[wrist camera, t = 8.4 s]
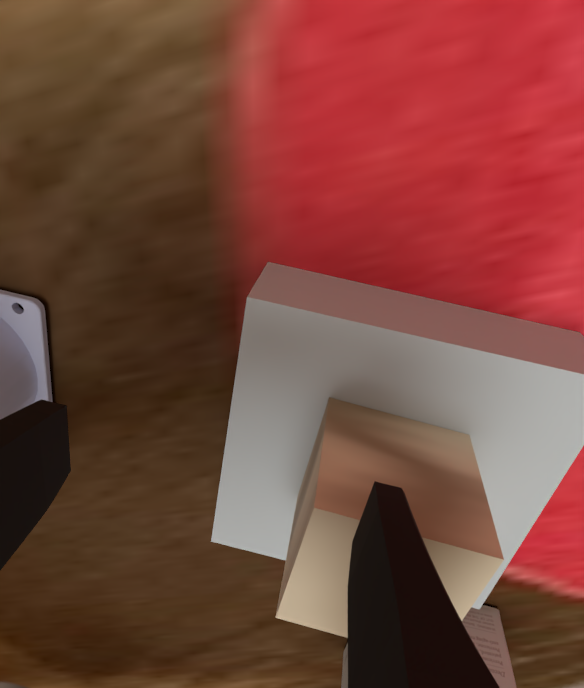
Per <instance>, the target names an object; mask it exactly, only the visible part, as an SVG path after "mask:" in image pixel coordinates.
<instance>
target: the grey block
mask: <svg viewBox="0 0 584 688" xmlns="http://www.w3.org/2000/svg"><path fill="white" fill-rule="evenodd" d="M329 397H330V398H334V399H337V400H341V401H345V402H349V403H352V404H356V405H360V406H363V407H367V408H371V409H375V410H378V411H382V412H386V413H389V414H393V415H397V416H401V417H404V418H408V419H412V420H416V421H419V422H423V423H427V424H430V425H434V426H438V427H442V428H445V429H449V430H453V431H456V432H460V433H464V434H468V435H470V439H471V442H472V446H473V450H474V453H475V457H476V460H477V464H478V468H479V471H480V475H481V478H482V482H483V486H484V489H485V493H486V496H487V500H488V504H489V507H490V511H491V514H492V518H493V522H494V525H495V529H496V532H497V536H498V540H499V543H500V547H501V550H502V554H503V558H504V561H503V562H502V564H501V565H500V566H499V568H498V569H497V571H496V572H495V574H494V575H493V577H492V578H491V579H490V581H489V582H488V584H487V585H486V587H485V588H484V590H483V591H482V592H481V594H480V595H479V597H478V598H477V600H476V601H475V603H474V604H473V606H472V608H476V609H480V608H481V606H482V605H483V603H484V602H485V600H486V598H487V597H488V595H489V594H490V592H491V591H492V589H493V587H494V586H495V584H496V583H497V581H498V580H499V578H500V576H501V575H502V573H503V572H504V570H505V568H506V567H507V565H508V564H509V562H510V561H511V559H512V557H513V556H514V554H515V553H516V551H517V550H518V548H519V546H520V545H521V543H522V542H523V540H524V539H525V537H526V535H527V534H528V532H529V531H530V529H531V527H532V526H533V524H534V523H535V521H536V520H537V518H538V516H539V515H540V513H541V512H542V510H543V509H544V507H545V505H546V504H547V502H548V501H549V499H550V498H551V496H552V494H553V493H554V491H555V490H556V488H557V486H558V485H559V483H560V482H561V480H562V479H563V477H564V475H565V474H566V472H567V471H568V469H569V468H570V466H571V464H572V463H573V461H574V460H575V458H576V457H577V455H578V453H579V452H580V450H581V449H582V447H583V445H584V336H583V335H582V334H581V333H580V332H576V331H572V330H567V329H563V328H558V327H554V326H550V325H545V324H541V323H536V322H532V321H528V320H523V319H519V318H514V317H510V316H506V315H501V314H497V313H492V312H488V311H483V310H479V309H475V308H470V307H466V306H461V305H457V304H453V303H448V302H444V301H439V300H435V299H431V298H426V297H422V296H417V295H413V294H409V293H404V292H400V291H395V290H391V289H386V288H382V287H378V286H373V285H369V284H364V283H360V282H356V281H351V280H347V279H342V278H338V277H334V276H329V275H325V274H320V273H316V272H312V271H307V270H303V269H298V268H294V267H289V266H285V265H281V264H276V263H272V262H268V263H267V264H266V266H265V268H264V269H263V271H262V273H261V274H260V276H259V278H258V279H257V281H256V283H255V284H254V286H253V288H252V289H251V291H250V293H249V294H248V296H247V300H246V307H245V314H244V321H243V328H242V335H241V341H240V348H239V355H238V362H237V369H236V375H235V382H234V389H233V396H232V403H231V409H230V416H229V423H228V430H227V437H226V443H225V450H224V457H223V464H222V471H221V477H220V484H219V491H218V498H217V505H216V512H215V518H214V525H213V532H212V539H211V542H215V543H219V544H223V545H227V546H231V547H235V548H239V549H243V550H247V551H251V552H255V553H259V554H263V555H267V556H271V557H275V558H278V559H282V560H286V557H287V552H288V546H289V541H290V535H291V530H292V524H293V519H294V513H295V508H296V502H297V497H298V493H299V490H300V487H301V484H302V481H303V478H304V475H305V471H306V468H307V465H308V462H309V459H310V456H311V453H312V450H313V446H314V443H315V440H316V437H317V434H318V431H319V428H320V424H321V421H322V418H323V415H324V412H325V409H326V406H327V403H328V399H329Z"/></svg>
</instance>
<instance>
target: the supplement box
mask: <svg viewBox="0 0 584 688" xmlns="http://www.w3.org/2000/svg"><path fill="white" fill-rule="evenodd" d="M462 623H463V625H464V627H465V629H466V630H467V632H468V634H469V636H470V638H471V639H472V641H473V643H474V645H475V647H476V648H477V650H478V652H479V654H480V655H481V657H482V659H483V661H484V662H485V664H486V665H487V667H488V669H489V670H490V672H491V674H492V675H493V677H494V679H495V680H496V682H497V684H498V685H499V687H500V688H516V683H515V678H514V674H513V670H512V666H511V661H510V656H509V652H508V648H507V644H506V640H505V636H504V631H503V627H502V623H501V618H500V613H499V610H498V609H497V608H493V607H489V606H486V605H482V606H481V608H480V609H476V608H472V607H471V608H470V610H469V611H468V613H467V614H466V616H465V617H464V619H463V620H462ZM341 688H348V643H347V645H346V647H345V650H344V653H343V670H342V685H341Z"/></svg>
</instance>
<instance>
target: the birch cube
mask: <svg viewBox="0 0 584 688" xmlns="http://www.w3.org/2000/svg"><path fill="white" fill-rule="evenodd" d="M374 481H376V482H380V483H384V484H388V485H392V486H396V487H400V488H402V489H403V491H404V493H405V495H406V498H407V501H408V503H409V506H410V509H411V511H412V514H413V517H414V519H415V522H416V524H417V527H418V529H419V532H420V534H421V536H422V539H423V541H424V544H425V546H426V548H427V550H428V553H429V555H430V557H431V560H432V562H433V564H434V566H435V568H436V570H437V572H438V575H439V577H440V579H441V581H442V583H443V585H444V588H445V590H446V592H447V594H448V596H449V598H450V600H451V602H452V604H453V606H454V608H455V609H456V611H457V613H458V615H459V617H460V619H461V621H462V620H463V619H464V617H465V616H466V614H467V613H468V611H469V610H470V608H471V607H472V606H473V604H474V603H475V601H476V600H477V598H478V597H479V595H480V594H481V592H482V591H483V590H484V588H485V587H486V585H487V584H488V582H489V581H490V579H491V578H492V577H493V575H494V574H495V572H496V571H497V569H498V568H499V566H500V565H501V564H502V562H503V561H504V558H503V554H502V550H501V547H500V543H499V540H498V536H497V532H496V529H495V525H494V522H493V518H492V514H491V511H490V507H489V504H488V500H487V496H486V493H485V489H484V486H483V482H482V478H481V475H480V471H479V468H478V464H477V460H476V457H475V453H474V450H473V446H472V442H471V439H470V435H468V434H464V433H460V432H456V431H453V430H449V429H445V428H442V427H438V426H434V425H430V424H427V423H423V422H419V421H416V420H412V419H408V418H404V417H401V416H397V415H393V414H389V413H386V412H382V411H378V410H375V409H371V408H367V407H363V406H360V405H356V404H352V403H349V402H345V401H341V400H337V399H334V398H330V397H329V399H328V403H327V406H326V409H325V412H324V415H323V418H322V421H321V424H320V428H319V431H318V434H317V437H316V440H315V443H314V446H313V450H312V453H311V456H310V459H309V462H308V465H307V468H306V471H305V475H304V478H303V481H302V484H301V487H300V490H299V493H298V497H297V502H296V508H295V513H294V519H293V524H292V530H291V535H290V541H289V546H288V552H287V557H286V563H285V568H284V574H283V579H282V585H281V590H280V596H279V601H278V607H277V612H276V618H279V619H282V620H286V621H289V622H293V623H297V624H300V625H304V626H307V627H311V628H314V629H318V630H322V631H325V632H329V633H332V634H336V635H339V636H343V637H347V638H348V578H349V567H350V558H351V549H352V541H353V538H354V535H355V533H356V530H357V527H358V525H359V522H360V519H361V517H362V514H363V511H364V508H365V506H366V503H367V500H368V498H369V495H370V492H371V490H372V487H373V484H374Z"/></svg>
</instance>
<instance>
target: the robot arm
mask: <svg viewBox="0 0 584 688" xmlns="http://www.w3.org/2000/svg"><path fill="white" fill-rule="evenodd" d="M18 303H19V304H20V305H21V306H22V307H23V309H24V310H23V309H21V308H20V307H19V305H18ZM70 471H71V468H70V452H69V437H68V421H67V406H66V405H62V404H58V403H54V402H53V401H52V388H51V376H50V364H49V352H48V340H47V327H46V315H45V308H44V306H43V304H42V303H41V302H40V301H39V300H38V299H36V298H33V297H29V296H25V295H21V294H17V293H12V292H8V291H4V290H0V570H1V569H2V568H3V566H4V565H5V564H6V562H7V561H8V560H9V559H10V557H11V556H12V555H13V554H14V552H15V551H16V550H17V548H18V547H19V546H20V545H21V543H22V542H23V541H24V539H25V538H26V537H27V536H28V534H29V533H30V532H31V530H32V529H33V528H34V527H35V525H36V524H37V523H38V521H39V520H40V519H41V517H42V516H43V515H44V513H45V512H46V511H47V509H48V508H49V506H50V505H51V503H52V501H53V500H54V498H55V496H56V495H57V493H58V492H59V490H60V488H61V486H62V485H63V483H64V481H65V480H66V478H67V476H68V474H69V473H70ZM348 688H500V687H499V685H498V684H497V682H496V680H495V679H494V677H493V675H492V674H491V672H490V670H489V669H488V667H487V665H486V664H485V662H484V661H483V659H482V657H481V655H480V654H479V652H478V650H477V648H476V647H475V645H474V643H473V641H472V639H471V638H470V636H469V634H468V632H467V630H466V629H465V627H464V625H463V623H462V621H461V619H460V617H459V615H458V613H457V611H456V609H455V608H454V606H453V604H452V602H451V600H450V598H449V596H448V594H447V592H446V590H445V588H444V585H443V583H442V581H441V579H440V577H439V575H438V572H437V570H436V568H435V566H434V564H433V562H432V560H431V557H430V555H429V553H428V550H427V548H426V546H425V544H424V541H423V539H422V536H421V534H420V532H419V529H418V527H417V524H416V522H415V519H414V517H413V514H412V511H411V509H410V506H409V503H408V501H407V498H406V495H405V493H404V491H403V489H402V488H400V487H396V486H392V485H388V484H384V483H380V482H376V481H374V484H373V487H372V490H371V492H370V495H369V498H368V500H367V503H366V506H365V508H364V511H363V514H362V517H361V519H360V522H359V525H358V527H357V530H356V533H355V535H354V538H353V541H352V549H351V558H350V567H349V578H348Z"/></svg>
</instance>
